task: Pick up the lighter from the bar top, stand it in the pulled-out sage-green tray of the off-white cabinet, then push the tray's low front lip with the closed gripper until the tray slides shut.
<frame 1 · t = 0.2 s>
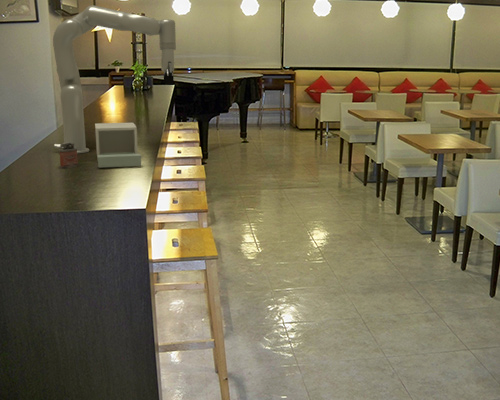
hand: (168, 83, 285), 31 cm above the table, tool pointing down, fingers open, 9 cm apart
lighter: (69, 167, 245), on the table
cabinet: (116, 157, 266), on the table
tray: (118, 157, 251), point 3 cm above the table, slide at 11.0 cm
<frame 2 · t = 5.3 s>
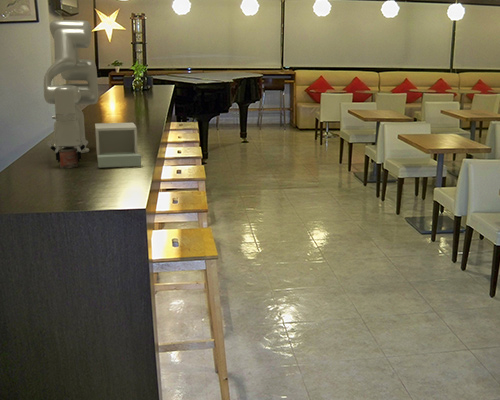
hand: (68, 161, 244), 2 cm above the table, tool pointing down, fingers closed on lighter, 7 cm apart
lighter: (69, 167, 245), on the table, touching gripper
everything else where it was.
when the fingers open (5 cm above the table, at t = 12.2 s): lighter stays where it is, resting on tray.
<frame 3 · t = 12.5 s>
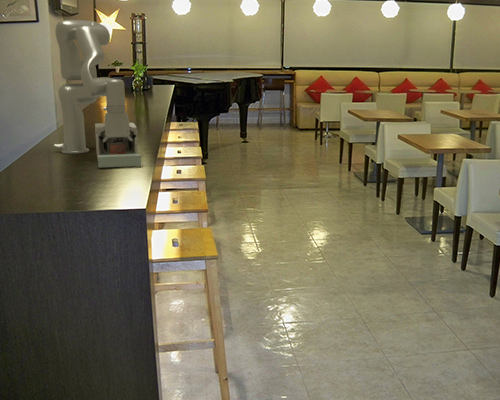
hand: (118, 150, 251), 6 cm above the table, tool pointing down, fingers open, 9 cm apart
lighter: (118, 160, 252), point 2 cm above the table, touching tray
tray: (118, 157, 251), point 3 cm above the table, slide at 11.0 cm, touching lighter
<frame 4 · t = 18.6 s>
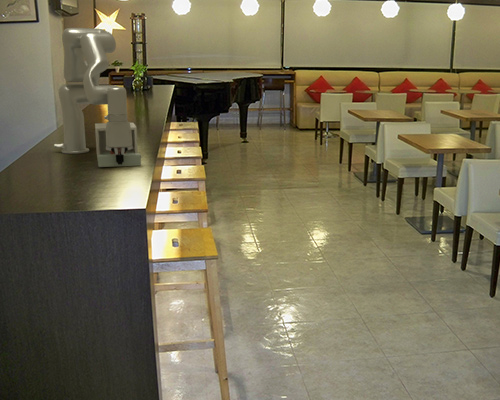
hand: (120, 163, 241), 2 cm above the table, tool pointing down, fingers closed
lighter: (118, 159, 253), point 2 cm above the table, touching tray
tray: (118, 156, 252), point 3 cm above the table, slide at 9.8 cm, touching gripper, lighter
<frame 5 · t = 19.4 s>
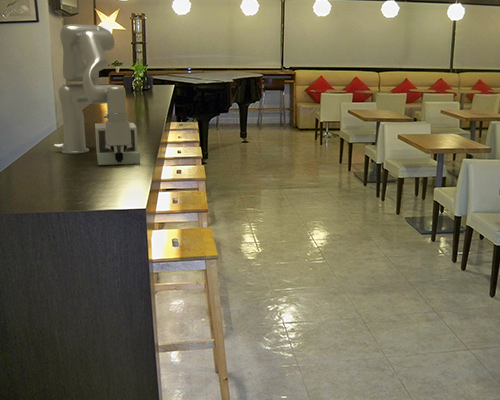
hand: (119, 161, 246), 2 cm above the table, tool pointing down, fingers closed
lighter: (117, 157, 258), point 2 cm above the table, touching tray
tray: (117, 155, 257), point 3 cm above the table, slide at 5.1 cm, touching gripper, lighter
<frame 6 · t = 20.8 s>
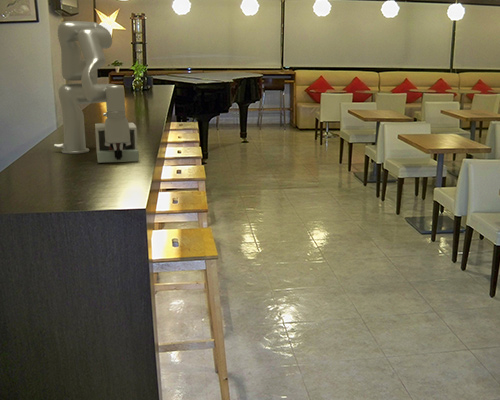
hand: (118, 159, 251), 2 cm above the table, tool pointing down, fingers closed
lighter: (117, 155, 263), point 2 cm above the table, touching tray
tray: (117, 153, 261), point 3 cm above the table, slide at -0.2 cm, touching gripper, lighter
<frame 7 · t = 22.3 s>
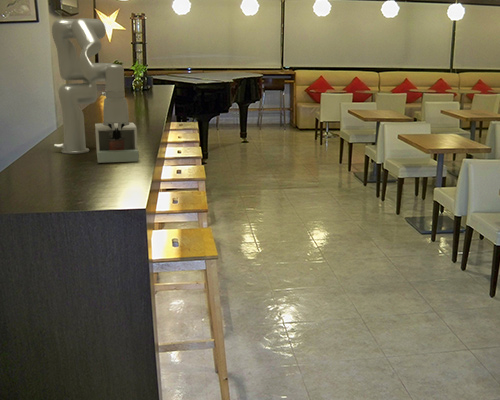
hand: (116, 139, 250), 10 cm above the table, tool pointing down, fingers closed
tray: (117, 153, 261), point 3 cm above the table, slide at 0.0 cm, touching lighter
everything else where it was.
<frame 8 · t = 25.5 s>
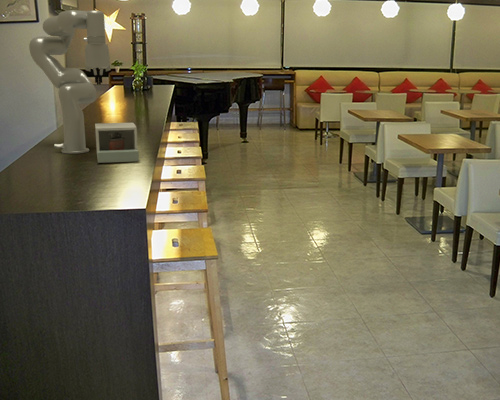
hand: (98, 84, 260), 32 cm above the table, tool pointing down, fingers closed
nothing on the table moved.
at the end: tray slide at 0.1 cm; lighter inside the target area on the cabinet (2.5 cm from its centre), point 1.6 cm above the cabinet's base; lighter tilted 0° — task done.
